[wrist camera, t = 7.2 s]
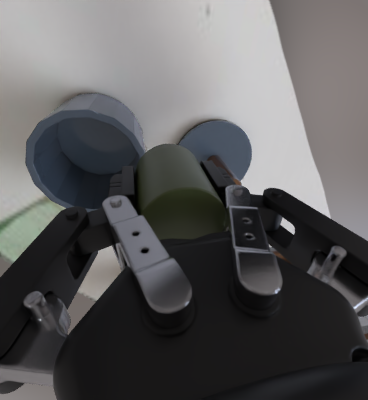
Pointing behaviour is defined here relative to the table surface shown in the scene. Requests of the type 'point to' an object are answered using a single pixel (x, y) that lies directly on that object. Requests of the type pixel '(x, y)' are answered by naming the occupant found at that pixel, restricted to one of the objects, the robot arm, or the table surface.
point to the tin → (177, 194)
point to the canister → (83, 149)
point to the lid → (220, 147)
